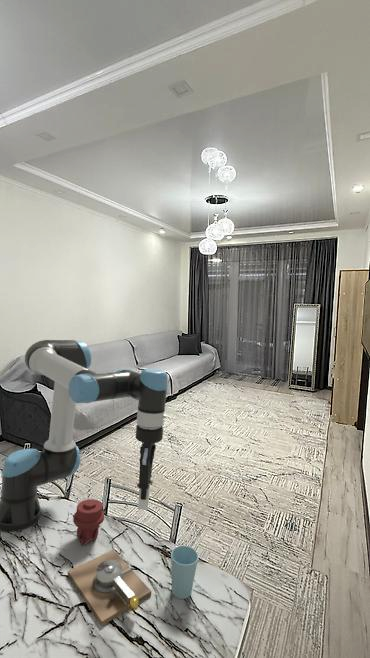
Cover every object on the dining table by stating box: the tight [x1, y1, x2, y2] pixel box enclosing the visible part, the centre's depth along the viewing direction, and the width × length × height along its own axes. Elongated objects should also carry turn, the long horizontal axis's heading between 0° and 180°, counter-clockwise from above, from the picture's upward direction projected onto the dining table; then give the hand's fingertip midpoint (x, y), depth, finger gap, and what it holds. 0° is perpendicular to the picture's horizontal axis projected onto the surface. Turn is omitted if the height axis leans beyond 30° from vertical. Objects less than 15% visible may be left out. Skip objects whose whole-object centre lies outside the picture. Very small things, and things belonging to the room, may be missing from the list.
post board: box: [67, 549, 152, 627], centre depth 92 cm, size 20×15×4 cm
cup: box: [170, 545, 199, 600], centre depth 92 cm, size 8×8×10 cm
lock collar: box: [96, 560, 140, 612], centre depth 88 cm, size 7×17×3 cm, turn 43°
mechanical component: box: [72, 498, 105, 546], centre depth 110 cm, size 12×10×10 cm
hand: (142, 508), depth 92 cm, fingers closed
